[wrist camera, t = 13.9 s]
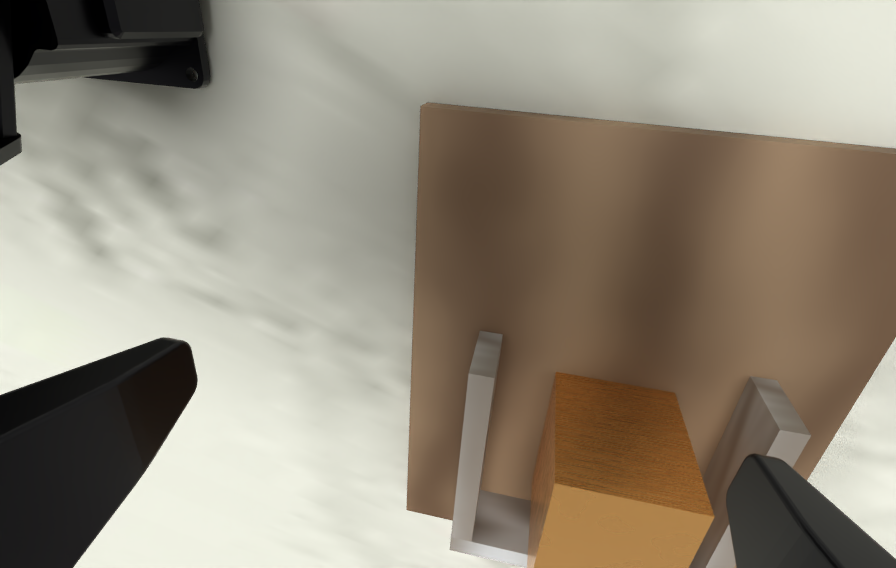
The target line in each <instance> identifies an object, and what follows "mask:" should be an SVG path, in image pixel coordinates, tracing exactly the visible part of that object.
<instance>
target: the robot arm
mask: <svg viewBox="0 0 896 568" xmlns="http://www.w3.org/2000/svg"><path fill="white" fill-rule="evenodd" d="M203 30H204V28H203V22H202V15H201V9H200V3H199V0H0V165H2V164H3V163H5V162H7V161H8V160H10V159H11V158H13V157H15V156H16V155H18V154H19V153H21V152H22V143H21V135H20V134H19V133H17V126H16V106H15V86H14V84H20V83H30V82H40V81H50V80H60V79H70V78H80V77H85V78H95V79H105V80H115V81H124V82H134V83H144V84H154V85H164V86H174V87H183V88H193V89H195V88H202V87H206V86H207V85H208V84H209V81H210V72H209V65H208V59H207V53H206V47H205V40H204V34H203ZM193 69H194V70H195V71H196V72H197V74H198V79H197V80H196V79H195V78H194V76H193ZM197 380H198V379H197V373H196V369H195V364H194V359H193V355H192V350H191V347H190V345H189V344H188V343H187V342H185V341H182V340H177V339H172V338H159V339H156V340H153V341H150V342H148V343H145V344H142V345H139V346H136V347H134V348H131V349H128V350H125V351H122V352H120V353H117V354H114V355H111V356H108V357H106V358H103V359H100V360H97V361H94V362H92V363H89V364H86V365H83V366H80V367H78V368H75V369H72V370H69V371H66V372H64V373H61V374H58V375H55V376H52V377H50V378H47V379H44V380H41V381H38V382H35V383H33V384H30V385H27V386H24V387H21V388H19V389H16V390H13V391H10V392H7V393H5V394H2V395H0V568H73V567H74V566H75V564H76V563H77V562H78V560H79V559H80V558H81V556H82V555H83V554H84V552H85V551H86V550H87V548H88V547H89V546H90V545H91V543H92V542H93V541H94V539H95V538H96V537H97V535H98V534H99V533H100V531H101V530H102V529H103V527H104V526H105V525H106V523H107V522H108V521H109V519H110V518H111V517H112V515H113V514H114V513H115V511H116V510H117V509H118V507H119V506H120V505H121V504H122V502H123V501H124V500H125V498H126V497H127V496H128V494H129V493H130V492H131V490H132V489H133V488H134V486H135V485H136V484H137V482H138V481H139V479H140V478H141V477H142V475H143V474H144V472H145V471H146V469H147V468H148V466H149V465H150V463H151V462H152V460H153V459H154V457H155V456H156V454H157V452H158V451H159V449H160V448H161V446H162V444H163V443H164V441H165V440H166V438H167V436H168V435H169V433H170V431H171V430H172V428H173V427H174V425H175V423H176V422H177V420H178V418H179V417H180V415H181V414H182V412H183V410H184V409H185V407H186V406H187V404H188V402H189V401H190V399H191V397H192V396H193V394H194V392H195V390H196V387H197ZM726 508H727V514H728V520H729V526H730V532H731V538H732V544H733V550H734V556H735V562H736V568H896V559H895V558H894V557H893V556H892V555H891V554H889V553H888V552H887V551H886V550H885V549H884V548H883V547H882V546H880V545H879V544H878V543H877V542H876V541H875V540H874V539H872V538H871V537H870V536H869V535H868V534H867V533H866V532H865V531H863V530H862V529H861V528H860V527H859V526H858V525H857V524H855V523H854V522H853V521H852V520H851V519H850V518H849V517H848V516H846V515H845V514H844V513H843V512H842V511H841V510H840V509H838V508H837V507H836V506H835V505H834V504H833V503H832V502H830V501H829V500H828V499H827V498H826V497H825V496H824V495H823V494H821V493H820V492H819V491H818V490H817V489H816V488H815V487H813V486H812V485H811V484H810V483H809V482H808V481H807V480H806V479H804V478H803V477H802V476H801V475H800V474H799V473H798V472H796V471H795V470H794V469H793V468H792V467H791V466H790V465H788V464H787V463H786V462H785V461H783V460H782V459H779V458H777V457H772V456H766V455H761V454H756V453H753V454H749V455H748V456H746V458H745V459H744V460H743V462H742V464H741V466H740V468H739V469H738V471H737V473H736V475H735V476H734V478H733V480H732V482H731V484H730V485H729V487H728V490H727V493H726Z"/></svg>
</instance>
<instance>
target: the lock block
mask: <svg viewBox="0 0 896 568" xmlns="http://www.w3.org/2000/svg"><path fill="white" fill-rule="evenodd" d="M713 519H714V513H713V510H712V507H711V504H710V501H709V498H708V495H707V491H706V488H705V485H704V482H703V479H702V476H701V473H700V469H699V466H698V463H697V460H696V457H695V454H694V451H693V448H692V444H691V441H690V438H689V435H688V432H687V429H686V426H685V422H684V419H683V416H682V413H681V410H680V407H679V404H678V401H677V397H676V394H675V393H674V392H668V391H663V390H657V389H651V388H646V387H640V386H634V385H629V384H623V383H617V382H612V381H606V380H600V379H595V378H589V377H583V376H578V375H572V374H566V373H561V372H556V373H555V378H554V382H553V387H552V391H551V396H550V401H549V405H548V410H547V414H546V419H545V423H544V428H543V433H542V437H541V442H540V446H539V451H538V455H537V460H536V465H535V469H534V474H533V478H532V490H531V507H530V524H529V541H528V557H527V568H689V566H690V564H691V562H692V560H693V558H694V556H695V554H696V552H697V551H698V549H699V547H700V545H701V543H702V541H703V539H704V537H705V535H706V533H707V531H708V529H709V527H710V525H711V523H712V521H713Z"/></svg>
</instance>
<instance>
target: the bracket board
mask: <svg viewBox="0 0 896 568" xmlns="http://www.w3.org/2000/svg"><path fill="white" fill-rule="evenodd" d="M895 337H896V149H892V148H882V147H872V146H862V145H852V144H842V143H832V142H822V141H812V140H801V139H791V138H781V137H771V136H761V135H751V134H741V133H731V132H720V131H710V130H700V129H690V128H680V127H670V126H660V125H650V124H640V123H629V122H619V121H609V120H599V119H589V118H579V117H569V116H559V115H549V114H538V113H528V112H518V111H508V110H498V109H488V108H478V107H468V106H458V105H447V104H437V103H426V104H424V105H422V106H421V109H420V138H419V167H418V195H417V224H416V253H415V282H414V310H413V339H412V368H411V397H410V426H409V454H408V483H407V510H409V511H413V512H418V513H422V514H427V515H431V516H435V517H440V518H444V519H449V520H453V524H452V533H451V542H450V550H453V551H457V552H461V553H465V554H470V555H474V556H478V557H482V558H486V559H491V560H495V561H499V562H503V563H508V564H512V565H516V566H520V567H524V568H527V557H528V541H529V524H530V507H531V490H532V478H533V474H534V469H535V465H536V460H537V455H538V451H539V446H540V442H541V437H542V433H543V428H544V423H545V419H546V414H547V410H548V405H549V401H550V396H551V391H552V387H553V382H554V378H555V373H556V372H561V373H566V374H572V375H578V376H583V377H589V378H595V379H600V380H606V381H612V382H617V383H623V384H629V385H634V386H640V387H646V388H651V389H657V390H663V391H668V392H674V393H675V394H676V397H677V401H678V404H679V407H680V410H681V413H682V416H683V419H684V422H685V426H686V429H687V432H688V435H689V438H690V441H691V444H692V448H693V451H694V454H695V457H696V460H697V463H698V466H699V469H700V473H701V476H702V479H703V482H704V485H705V488H706V491H707V495H708V498H709V501H710V504H711V507H712V510H713V513H714V519H713V521H712V523H711V525H710V527H709V529H708V531H707V533H706V535H705V537H704V539H703V541H702V543H701V545H700V547H699V549H698V551H697V552H696V554H695V556H694V558H693V560H692V562H691V564H690V566H689V568H736V562H735V556H734V550H733V544H732V538H731V532H730V526H729V520H728V514H727V508H726V493H727V490H728V487H729V485H730V484H731V482H732V480H733V478H734V476H735V475H736V473H737V471H738V469H739V468H740V466H741V464H742V462H743V460H744V459H745V458H746V456H748V455H749V454H753V453H756V454H761V455H766V456H772V457H777V458H779V459H782V460H783V461H785V462H786V463H787V464H788V465H790V466H791V467H792V468H793V469H794V470H795V471H796V472H798V473H799V474H800V475H801V476H802V477H803V478H804V479H806V480H807V479H808V478H809V476H810V474H811V473H812V471H813V470H814V468H815V466H816V465H817V463H818V462H819V460H820V458H821V457H822V455H823V453H824V452H825V450H826V449H827V447H828V445H829V444H830V442H831V441H832V439H833V437H834V436H835V434H836V432H837V431H838V429H839V428H840V426H841V424H842V423H843V421H844V420H845V418H846V416H847V415H848V413H849V411H850V410H851V408H852V407H853V405H854V403H855V402H856V400H857V399H858V397H859V395H860V394H861V392H862V391H863V389H864V387H865V386H866V384H867V382H868V381H869V379H870V378H871V376H872V374H873V373H874V371H875V370H876V368H877V366H878V365H879V363H880V361H881V360H882V358H883V357H884V355H885V353H886V352H887V350H888V349H889V347H890V345H891V344H892V342H893V340H894V339H895Z"/></svg>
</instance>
